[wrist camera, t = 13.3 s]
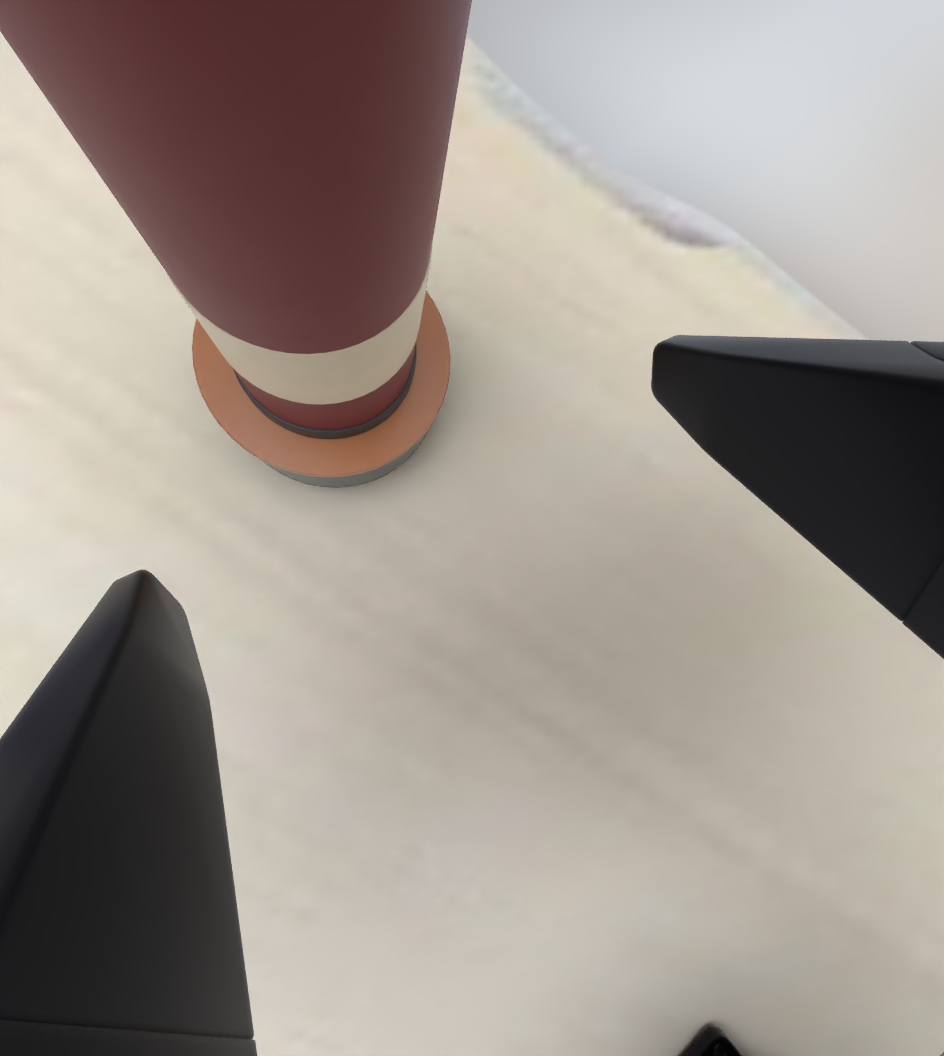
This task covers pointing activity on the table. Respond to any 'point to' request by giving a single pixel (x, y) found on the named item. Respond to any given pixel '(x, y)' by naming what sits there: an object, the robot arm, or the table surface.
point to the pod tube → (271, 173)
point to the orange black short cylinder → (330, 457)
